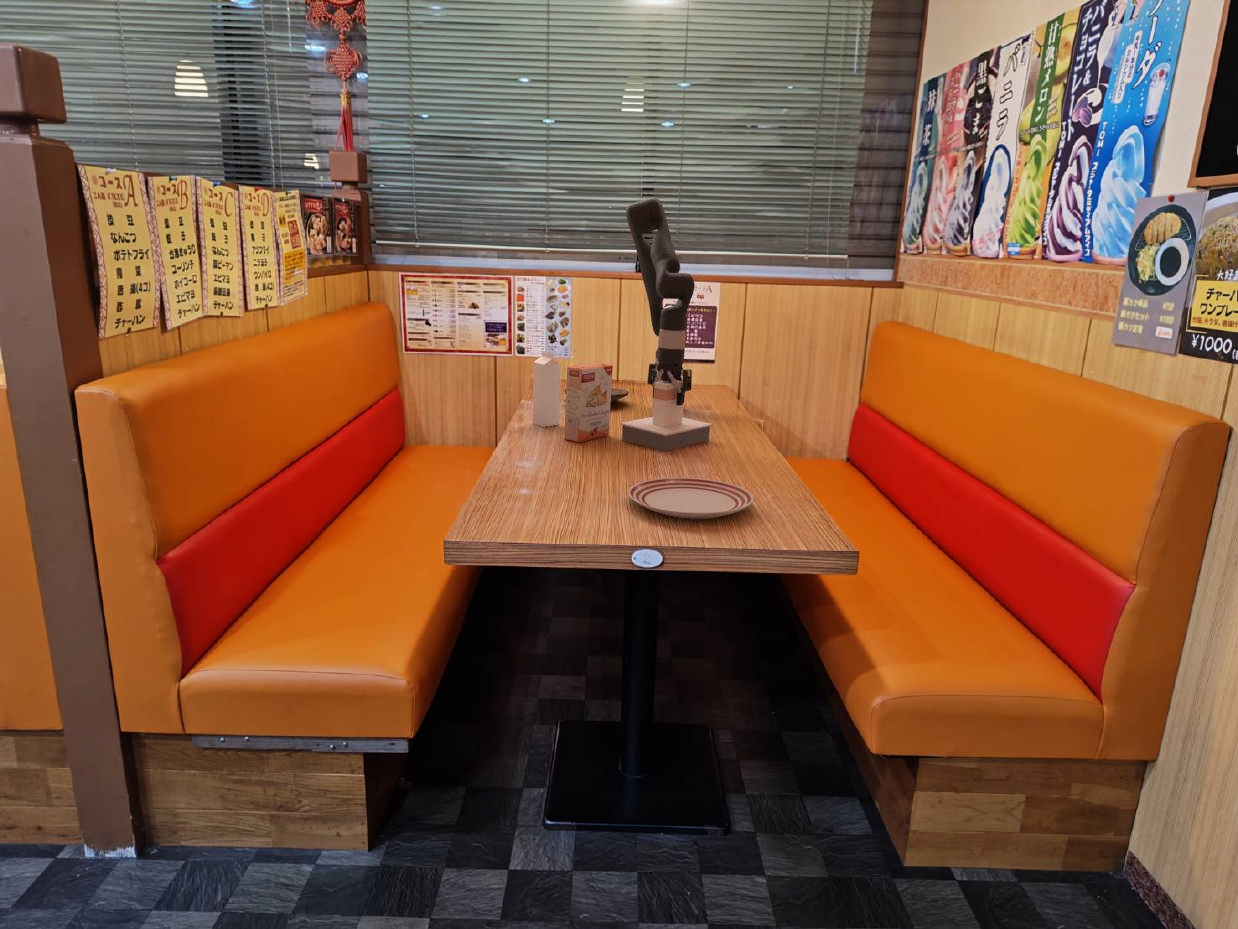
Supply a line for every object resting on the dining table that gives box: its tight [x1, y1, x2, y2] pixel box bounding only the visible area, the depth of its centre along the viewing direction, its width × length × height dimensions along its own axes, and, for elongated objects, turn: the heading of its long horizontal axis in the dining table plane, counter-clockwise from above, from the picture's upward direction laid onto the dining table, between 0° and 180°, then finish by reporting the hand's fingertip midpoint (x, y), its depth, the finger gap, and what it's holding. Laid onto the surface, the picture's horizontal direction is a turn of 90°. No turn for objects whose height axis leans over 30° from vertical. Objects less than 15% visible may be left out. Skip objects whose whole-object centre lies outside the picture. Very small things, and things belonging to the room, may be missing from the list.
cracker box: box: [563, 362, 614, 443], centre depth 233 cm, size 14×6×21 cm, turn 143°
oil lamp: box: [564, 387, 630, 403], centre depth 287 cm, size 22×30×8 cm
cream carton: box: [652, 381, 685, 427], centre depth 234 cm, size 5×8×12 cm, turn 137°
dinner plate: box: [627, 476, 755, 520], centre depth 180 cm, size 27×27×3 cm
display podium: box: [619, 416, 713, 452], centre depth 236 cm, size 21×17×5 cm
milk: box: [532, 350, 562, 428], centre depth 248 cm, size 6×6×22 cm
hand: (668, 402), depth 234 cm, fingers open, 8 cm apart
